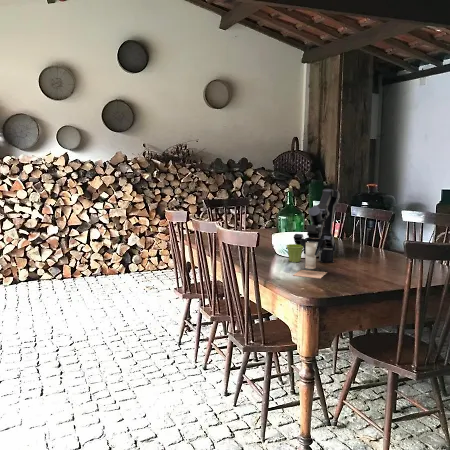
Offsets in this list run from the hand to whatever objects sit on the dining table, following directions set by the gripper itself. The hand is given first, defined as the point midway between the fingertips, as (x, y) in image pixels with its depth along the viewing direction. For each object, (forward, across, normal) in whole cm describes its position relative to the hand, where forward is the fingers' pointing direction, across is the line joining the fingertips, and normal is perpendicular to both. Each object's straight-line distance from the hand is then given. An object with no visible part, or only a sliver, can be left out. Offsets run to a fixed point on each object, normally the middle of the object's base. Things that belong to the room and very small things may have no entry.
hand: (310, 254), depth 230 cm
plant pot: (-12, -16, +27) cm, 34 cm away
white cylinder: (+4, 0, +6) cm, 7 cm away
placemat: (+6, 0, +8) cm, 10 cm away
